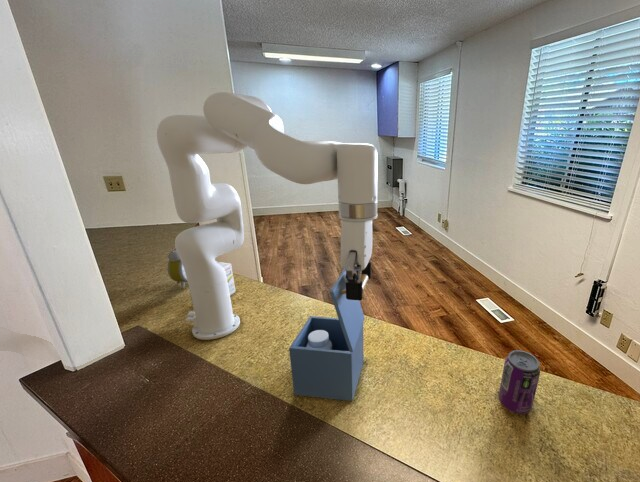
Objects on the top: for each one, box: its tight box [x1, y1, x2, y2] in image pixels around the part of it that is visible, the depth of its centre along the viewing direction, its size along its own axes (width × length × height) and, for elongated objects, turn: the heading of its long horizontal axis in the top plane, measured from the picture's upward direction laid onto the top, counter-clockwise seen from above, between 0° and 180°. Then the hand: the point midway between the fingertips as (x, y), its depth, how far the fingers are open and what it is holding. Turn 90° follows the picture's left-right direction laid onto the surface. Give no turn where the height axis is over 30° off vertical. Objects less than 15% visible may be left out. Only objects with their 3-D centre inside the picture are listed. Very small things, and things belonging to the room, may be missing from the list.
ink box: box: [216, 261, 236, 296], centre depth 108 cm, size 9×8×12 cm
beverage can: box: [498, 349, 541, 415], centre depth 66 cm, size 7×7×12 cm
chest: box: [288, 315, 365, 402], centre depth 72 cm, size 14×13×13 cm
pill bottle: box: [306, 330, 332, 350], centre depth 72 cm, size 6×6×11 cm
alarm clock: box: [166, 249, 188, 290], centre depth 116 cm, size 12×7×15 cm, turn 179°
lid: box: [329, 268, 370, 352], centre depth 67 cm, size 14×13×6 cm
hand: (359, 288), depth 65 cm, fingers open, 9 cm apart
